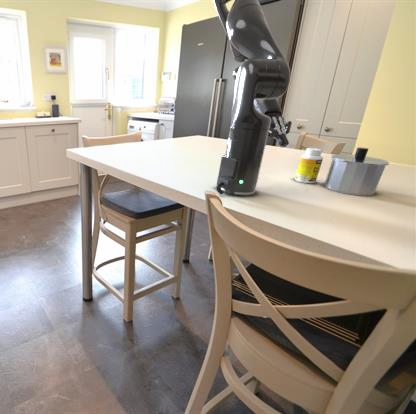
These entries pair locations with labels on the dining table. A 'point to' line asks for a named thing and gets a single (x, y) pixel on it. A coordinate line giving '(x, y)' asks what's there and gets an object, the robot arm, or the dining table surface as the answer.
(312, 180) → the supplement bottle
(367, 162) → the pot lid
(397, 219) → the dining table surface
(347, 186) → the pot
